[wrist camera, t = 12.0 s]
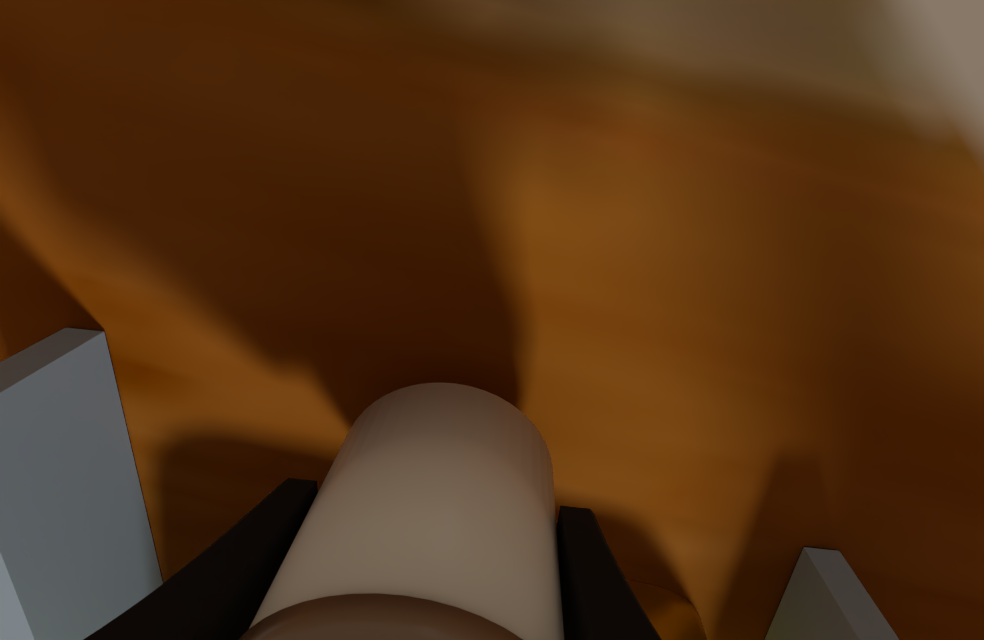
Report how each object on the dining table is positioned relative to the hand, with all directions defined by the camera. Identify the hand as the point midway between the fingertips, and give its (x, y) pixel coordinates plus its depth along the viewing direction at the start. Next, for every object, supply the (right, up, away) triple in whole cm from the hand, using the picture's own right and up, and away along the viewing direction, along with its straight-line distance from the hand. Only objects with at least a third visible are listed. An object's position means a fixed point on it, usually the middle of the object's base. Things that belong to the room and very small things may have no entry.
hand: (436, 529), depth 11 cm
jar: (0, +1, +1) cm, 2 cm away
